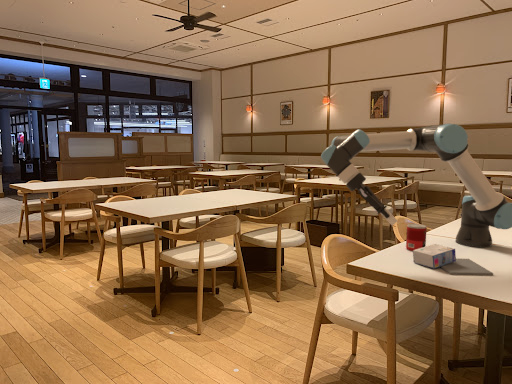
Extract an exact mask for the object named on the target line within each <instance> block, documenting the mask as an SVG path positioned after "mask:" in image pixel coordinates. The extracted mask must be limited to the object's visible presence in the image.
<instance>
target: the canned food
mask: <svg viewBox="0 0 512 384" xmlns="http://www.w3.org/2000/svg"><path fill="white" fill-rule="evenodd" d="M427 228H428V227H427V225H424V224H421V223H420V224H419V223H408V224H407V225H406V238H405V241H406V243H405V247H406V248H405V249H406V250H407V251H409V252H413V250H416V249H419V248H423V247H426V245H427V244H426V243H427Z"/></svg>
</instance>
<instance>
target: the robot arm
mask: <svg viewBox="0 0 512 384" xmlns="http://www.w3.org/2000/svg"><path fill="white" fill-rule="evenodd" d="M468 139H469V136H468V133H467V131H466V129H465V128H464V127H463V126H462V125H459V124H455V123H444V124H432V125H427V126H422V127H417V128H409V129H408V130H406V131H396V132H380V133H379V132H378V133H366V132H365V131H364V130H362V129H358V128H357V129H356V130H355V131H353V132H352V133H351V134H349V135H338V136H335V137H334V138H333V139H332V141H331V144H330V145H329V146H328V147H326V148H325V150H323V151H322V153H321V155H320V158H321V160H322V161H323V163H324V164H325V165H326V166H327V167H328V169H330V170H331V171H332V172H333V173H334V174H335V175H336V176H337V177H338V181H339V182H342V183H343V184H345V186H346V187H347V188H348V190H350V191H351V192H354V191H355V190H357V192H358V194H359V196H360V197H362V198H363V199H364V200H365V201H366V202H367V203H368V204H369V206H371V207H372V208H373V209H374V210H375V211H376V212H377V214H378V215H380V214H381V216H382V217H383V218H384V219H385V220H386V221H387V222H388V223H389V224H390V225H391V226H394V225H395V224H396V223H398V219H397V218H396V217H395V216H394V215H393V214H392V213H391V212H390V210H388V209H387V208H388V206H387V205H385V204H384V203H383V202H382V201H381V200H380V199H379V198H378V197H377V195H376V194H375V193H374V192H373V190H372V189H371V188H370V186H368V185H365V184H364V183H365V181H366V179H367V178H366V176H365V175H363V173H361V172H359V171H360V170H358V168H356V166H355V165H354V164H353V163H352V162H351V160H353V158H355V157H356V156H357V155H358V154H359V153H361V152H363V153H364V152H365V153H366V152H377V151H390V150H391V151H392V150H393V151H395V150H407V151H410V152H412V151H413V152H414V151H416V152H419V151H421V152H428V153H429V152H430V153H435V154H436V155H437V156H438V157H439V158H440V160H441V161H442V162H446V163H448V164H449V167H451V169H452V170H453V172H454V173H455V175H456V176H457V177H458V178H459V180H460V182H462V184H463V186H464V187H465V188H466V190H467V191H468V193H469V194H470V195H464V196H463V197H462V202H461V217H460V227H459V230H458V232H457V234H456V237H455V242H456V243H457V244H459V245H463V246H466V247H467V246H468V247H474V248H489V247H492V246H493V238H492V234H491V231H490V227H492V228H496V229H499V230H510V229H511V228H512V202H509V201H508V200H507V199H506V197H505V195H504V194H503V193H502V192H497V191H496V190H495V188H494V186H493V185H492V184H491V183H490V181H489V179H488V178H487V176H485V173H483V171H482V170H481V168H480V166H479V165H478V164H477V163H476V161H475V160H474V158H473V157H472V155H471V154H470V152H469V151H468V150H469V144H468V142H469V141H468Z"/></svg>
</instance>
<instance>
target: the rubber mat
mask: <svg viewBox="0 0 512 384" xmlns="http://www.w3.org/2000/svg"><path fill="white" fill-rule="evenodd" d="M439 268H440V269H442V270H443V271H445V272H446V273H447V274H449V275H458V276H460V275H463V276H494V273H493V272H492V271H490V270H488V269H487V268H485V267H484V266H482V265H480V264H478V263H477V262H475V261H473V260H472V259H470V258H456V261H454V262H452V263H449V264H446V265H443V266H440V267H439Z"/></svg>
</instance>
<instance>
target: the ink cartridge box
mask: <svg viewBox="0 0 512 384" xmlns="http://www.w3.org/2000/svg"><path fill="white" fill-rule="evenodd" d="M412 257H413V263H414V264H416V265H420V266H424V267H427V268H430V269H434V270H435V269H437V268H441V267H440V266H443V265H446V264H449V263H452V262H454V261H456V259H457V256H456V248H454V247H449V246H445V245H442V244H441V245H440V244H437V243H433V244H430V245H427V246H425V247H423V248H419V249H416V250H413V251H412Z"/></svg>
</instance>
